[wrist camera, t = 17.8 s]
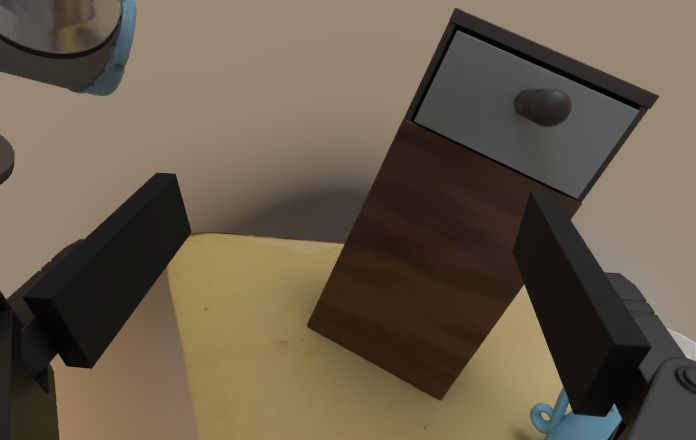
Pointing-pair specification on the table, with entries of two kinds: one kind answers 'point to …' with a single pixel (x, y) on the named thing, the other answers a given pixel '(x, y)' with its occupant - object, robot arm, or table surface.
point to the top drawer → (523, 115)
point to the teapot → (573, 422)
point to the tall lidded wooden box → (444, 233)
